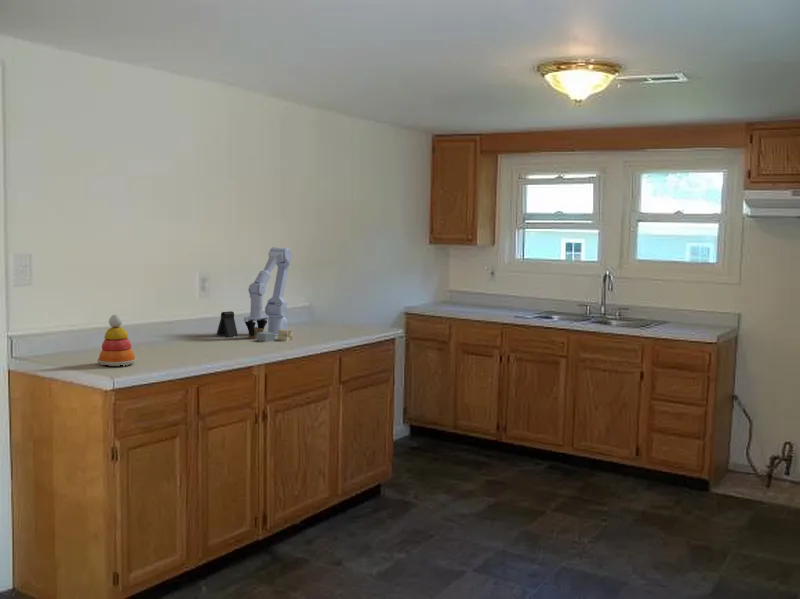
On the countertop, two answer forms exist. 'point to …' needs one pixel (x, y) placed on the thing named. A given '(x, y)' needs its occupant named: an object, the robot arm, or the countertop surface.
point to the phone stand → (227, 325)
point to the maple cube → (285, 335)
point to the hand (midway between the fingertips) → (255, 335)
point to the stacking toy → (116, 345)
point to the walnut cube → (256, 330)
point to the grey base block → (265, 336)
